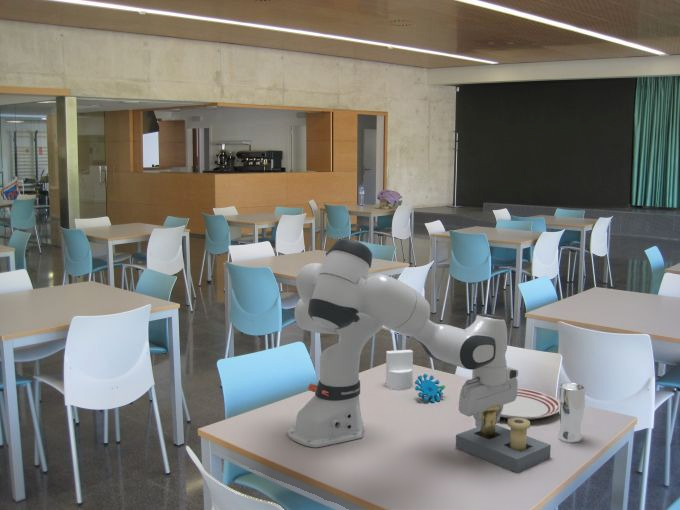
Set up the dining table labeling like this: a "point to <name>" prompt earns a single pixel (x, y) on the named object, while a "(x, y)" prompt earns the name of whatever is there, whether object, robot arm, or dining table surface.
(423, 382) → the gear
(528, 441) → the jig
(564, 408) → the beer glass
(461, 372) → the dining table surface
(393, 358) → the white toy chair
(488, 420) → the bushing
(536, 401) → the dinner plate
